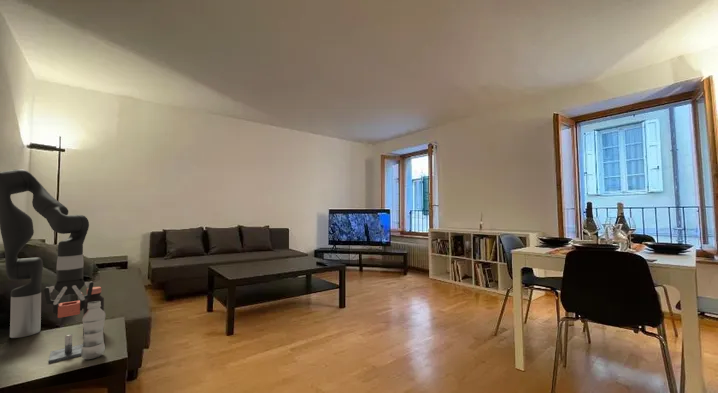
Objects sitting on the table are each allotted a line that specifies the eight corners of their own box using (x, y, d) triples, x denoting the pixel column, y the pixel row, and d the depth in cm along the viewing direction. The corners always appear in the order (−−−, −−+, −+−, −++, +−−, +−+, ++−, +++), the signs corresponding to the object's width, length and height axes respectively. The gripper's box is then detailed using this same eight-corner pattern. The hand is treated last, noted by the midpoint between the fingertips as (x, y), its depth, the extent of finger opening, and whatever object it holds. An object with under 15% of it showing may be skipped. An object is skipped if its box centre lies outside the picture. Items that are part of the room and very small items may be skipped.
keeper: (50, 353, 117) (51, 335, 117) (85, 345, 124) (86, 328, 124) (48, 363, 110) (48, 343, 110) (86, 354, 116) (86, 335, 117)
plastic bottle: (85, 355, 116) (86, 301, 116) (108, 352, 118) (108, 299, 119) (77, 363, 110) (78, 306, 110) (100, 359, 112) (101, 303, 113)
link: (57, 318, 113) (57, 306, 113) (58, 314, 118) (58, 303, 118) (79, 314, 117) (80, 303, 117) (79, 310, 122) (80, 300, 122)
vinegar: (104, 334, 135) (104, 288, 136) (83, 339, 131) (84, 291, 131) (102, 329, 140) (103, 285, 141) (82, 334, 135) (83, 288, 136)
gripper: (42, 271, 110) (41, 319, 110) (95, 266, 120) (94, 310, 119) (44, 268, 116) (43, 314, 115) (94, 263, 126) (94, 305, 125)
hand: (69, 311), depth 117 cm, fingers closed on link, 6 cm apart
